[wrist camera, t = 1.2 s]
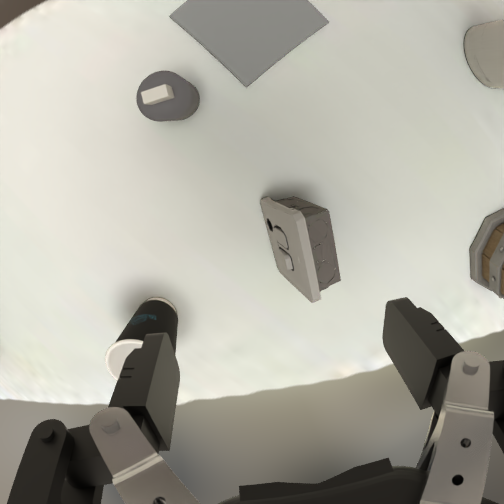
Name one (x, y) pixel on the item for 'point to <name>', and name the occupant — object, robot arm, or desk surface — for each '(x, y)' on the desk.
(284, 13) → the mat
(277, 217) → the electrical switch
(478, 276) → the tankard
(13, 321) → the desk surface
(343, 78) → the desk surface
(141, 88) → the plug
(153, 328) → the dixie cup
